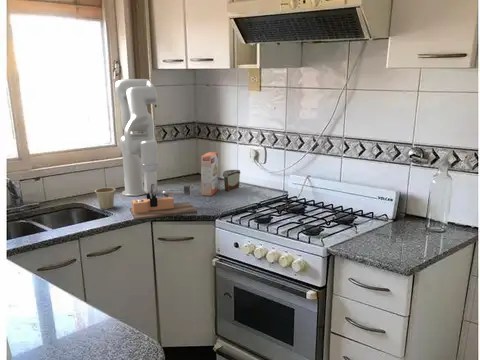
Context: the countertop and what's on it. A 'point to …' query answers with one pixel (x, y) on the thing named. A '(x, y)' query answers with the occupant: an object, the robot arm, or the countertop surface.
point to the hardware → (164, 197)
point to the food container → (231, 179)
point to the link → (145, 207)
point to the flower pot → (105, 197)
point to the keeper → (185, 192)
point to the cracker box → (209, 173)
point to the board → (166, 211)
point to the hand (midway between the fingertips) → (152, 203)
